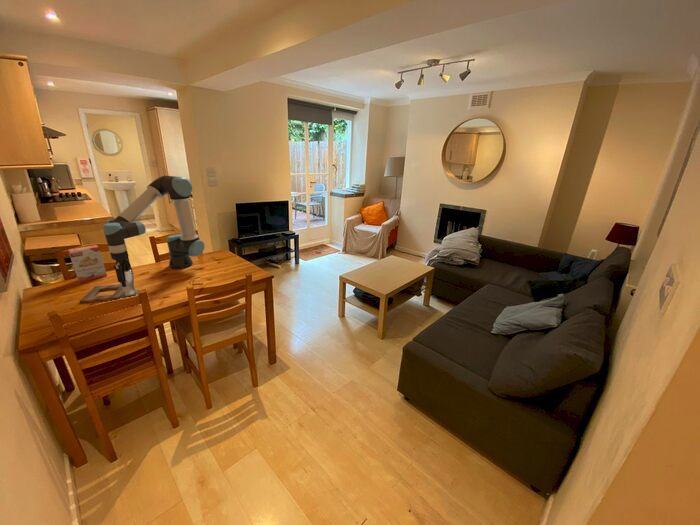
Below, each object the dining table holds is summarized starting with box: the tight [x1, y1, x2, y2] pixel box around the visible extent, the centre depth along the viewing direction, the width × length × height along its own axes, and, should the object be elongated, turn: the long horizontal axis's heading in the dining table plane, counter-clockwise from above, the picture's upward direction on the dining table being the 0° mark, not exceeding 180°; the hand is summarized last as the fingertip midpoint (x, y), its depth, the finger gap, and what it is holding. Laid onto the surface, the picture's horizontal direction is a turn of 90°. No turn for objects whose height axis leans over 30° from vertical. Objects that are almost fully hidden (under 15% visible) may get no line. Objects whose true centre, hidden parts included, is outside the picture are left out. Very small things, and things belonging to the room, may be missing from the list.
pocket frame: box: [79, 283, 124, 304], centre depth 168 cm, size 18×18×2 cm
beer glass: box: [119, 268, 137, 296], centre depth 164 cm, size 7×7×15 cm
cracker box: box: [67, 244, 108, 283], centre depth 182 cm, size 14×6×21 cm, turn 139°
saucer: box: [118, 289, 139, 300], centre depth 167 cm, size 12×12×1 cm
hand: (129, 288), depth 165 cm, fingers closed on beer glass, 7 cm apart
